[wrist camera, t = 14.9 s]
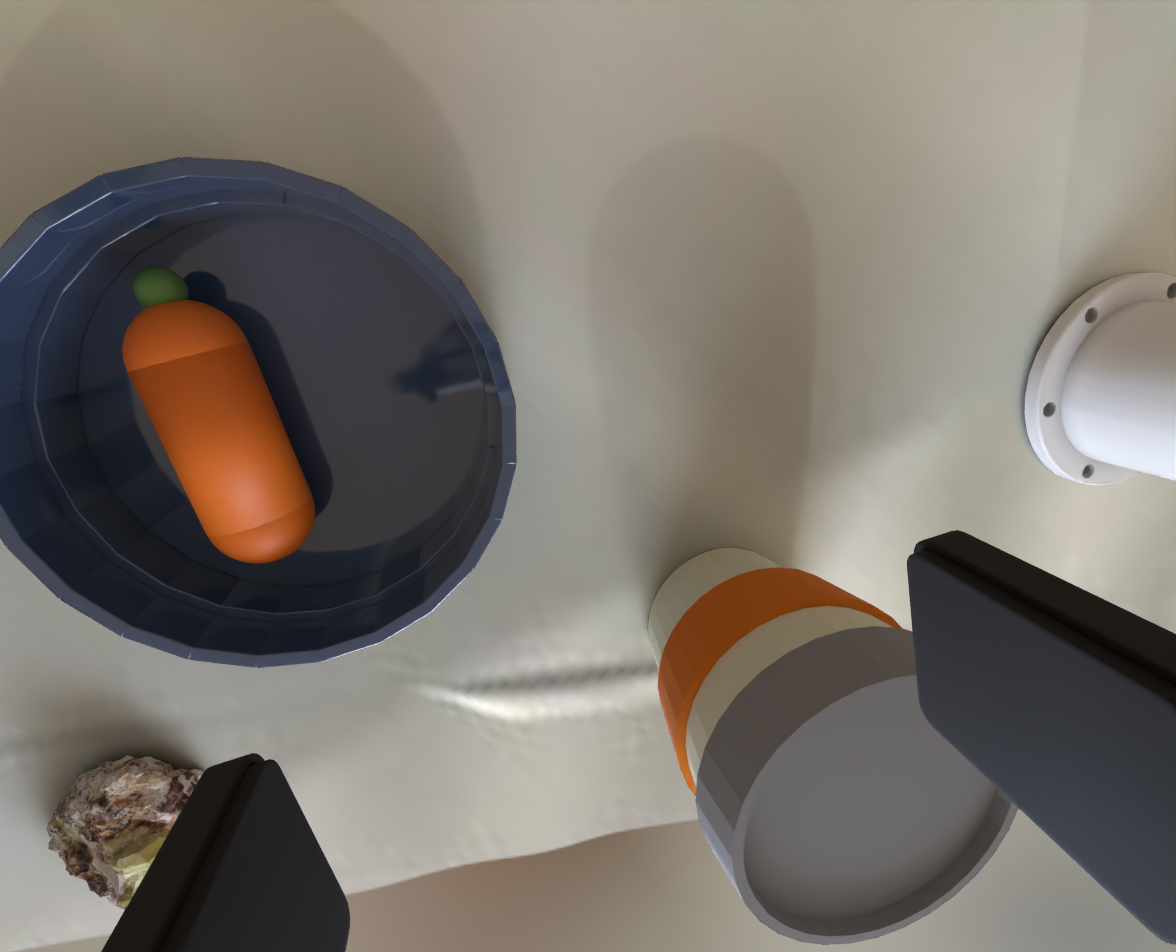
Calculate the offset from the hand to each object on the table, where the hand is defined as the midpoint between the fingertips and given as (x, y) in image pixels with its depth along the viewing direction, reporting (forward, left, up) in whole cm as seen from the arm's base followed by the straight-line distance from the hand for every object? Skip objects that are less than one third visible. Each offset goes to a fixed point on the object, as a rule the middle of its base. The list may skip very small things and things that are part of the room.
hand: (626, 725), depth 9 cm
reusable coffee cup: (-9, +15, -24) cm, 29 cm away
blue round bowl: (+9, -3, -23) cm, 25 cm away
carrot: (+11, -3, -21) cm, 24 cm away
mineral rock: (+24, +16, -24) cm, 37 cm away
